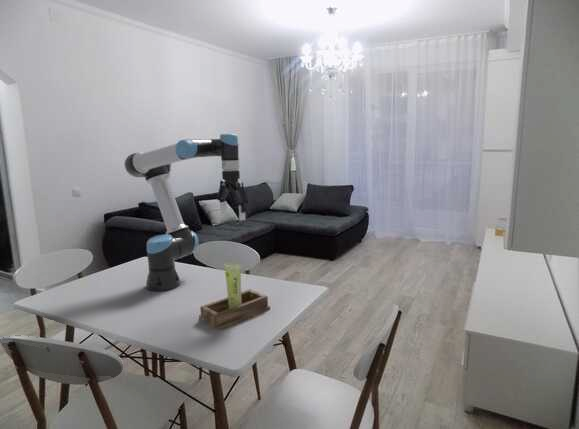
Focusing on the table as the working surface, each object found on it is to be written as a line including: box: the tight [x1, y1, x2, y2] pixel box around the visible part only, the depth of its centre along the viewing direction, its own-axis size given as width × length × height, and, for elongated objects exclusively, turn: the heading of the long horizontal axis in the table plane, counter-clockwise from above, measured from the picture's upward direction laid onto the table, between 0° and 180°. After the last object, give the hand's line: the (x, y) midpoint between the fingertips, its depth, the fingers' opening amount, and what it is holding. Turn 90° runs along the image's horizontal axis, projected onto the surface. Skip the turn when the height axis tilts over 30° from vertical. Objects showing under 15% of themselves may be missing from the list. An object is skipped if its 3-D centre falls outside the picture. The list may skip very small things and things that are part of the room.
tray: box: [198, 289, 271, 331], centre depth 153 cm, size 14×24×5 cm, turn 134°
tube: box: [223, 262, 242, 309], centre depth 152 cm, size 6×5×20 cm
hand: (233, 218), depth 175 cm, fingers open, 13 cm apart
